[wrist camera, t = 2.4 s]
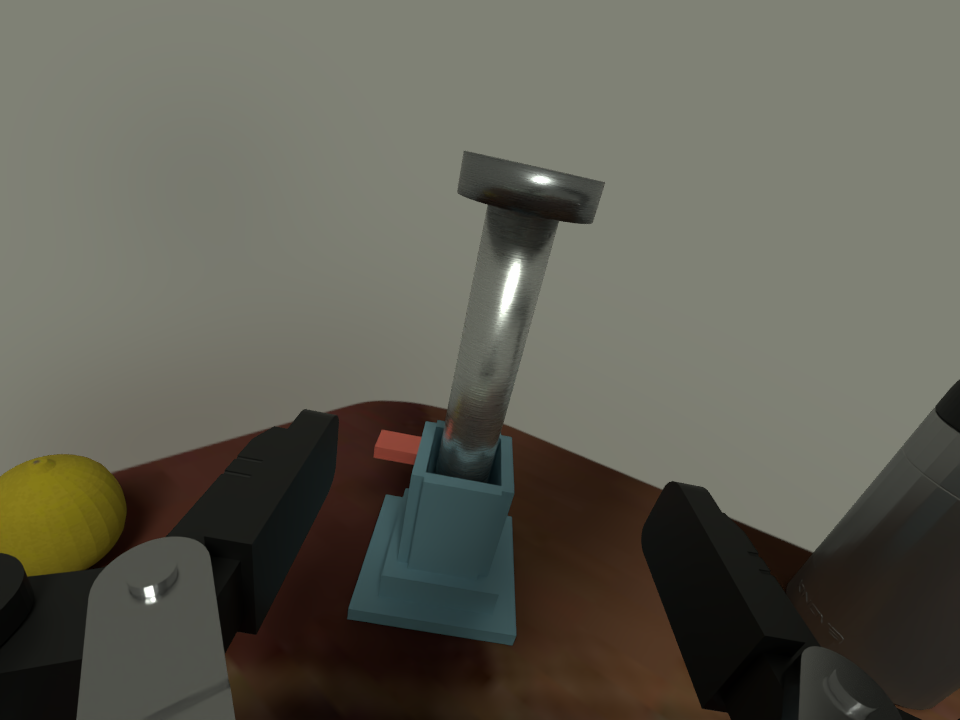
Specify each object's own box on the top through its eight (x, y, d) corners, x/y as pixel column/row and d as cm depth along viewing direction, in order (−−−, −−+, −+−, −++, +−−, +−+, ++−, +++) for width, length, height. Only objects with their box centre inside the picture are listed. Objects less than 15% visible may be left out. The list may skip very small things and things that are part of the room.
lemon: (28, 539, 25) (-17, 433, 21) (145, 518, 27) (122, 421, 24) (-18, 630, 20) (-83, 516, 17) (126, 595, 23) (94, 491, 20)
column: (486, 525, 31) (589, 178, 20) (484, 603, 26) (622, 186, 15) (408, 512, 31) (468, 151, 20) (389, 587, 25) (457, 149, 14)
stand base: (508, 525, 33) (541, 424, 28) (512, 645, 25) (559, 531, 20) (382, 503, 32) (395, 397, 28) (343, 618, 24) (354, 495, 20)
